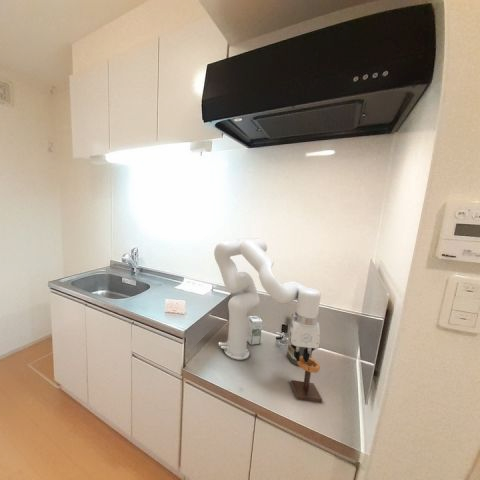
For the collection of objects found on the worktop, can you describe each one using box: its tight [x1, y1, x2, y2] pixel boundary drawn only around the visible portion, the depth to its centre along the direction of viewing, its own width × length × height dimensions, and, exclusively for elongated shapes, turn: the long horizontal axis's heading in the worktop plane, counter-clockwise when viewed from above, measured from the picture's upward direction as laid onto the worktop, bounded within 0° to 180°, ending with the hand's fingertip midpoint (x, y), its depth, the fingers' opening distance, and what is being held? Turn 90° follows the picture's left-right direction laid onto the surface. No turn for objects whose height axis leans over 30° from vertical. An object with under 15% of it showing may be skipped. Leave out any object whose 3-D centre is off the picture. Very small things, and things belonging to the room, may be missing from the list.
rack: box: [290, 362, 323, 403], centre depth 105 cm, size 9×9×14 cm
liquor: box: [286, 326, 313, 367], centre depth 124 cm, size 9×9×30 cm
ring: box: [297, 356, 321, 374], centre depth 104 cm, size 8×8×2 cm
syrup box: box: [247, 315, 263, 346], centre depth 141 cm, size 6×6×14 cm
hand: (300, 359), depth 105 cm, fingers closed
